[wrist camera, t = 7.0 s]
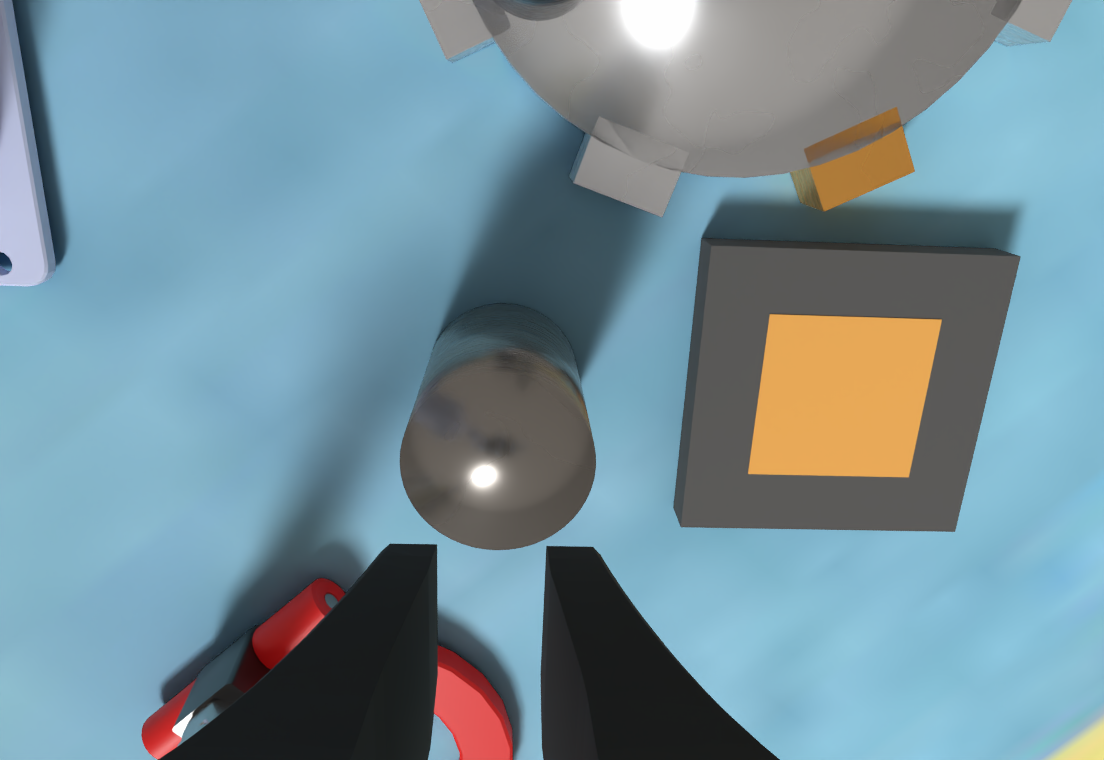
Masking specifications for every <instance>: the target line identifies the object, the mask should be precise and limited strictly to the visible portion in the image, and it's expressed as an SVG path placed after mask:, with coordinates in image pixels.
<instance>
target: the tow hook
mask: <svg viewBox="0 0 1104 760" xmlns="http://www.w3.org/2000/svg"><path fill="white" fill-rule="evenodd" d="M344 595H345V592H344V591H343V590H342V589H341V588H340V587H339V586H338V585H337V584H336V583H334V582H333V581H331V580H328V579H324V578H320V579H317V580H315V581H314V582H313V583H312V584H310V585H309V586H308V587H307V588H305V589H304V590H303V591H302V592H301V593H299V594H298V595H297V596H296V597H295V598H293V599H292V600H291V601H290V602H288V603H287V604H286V605H285V606H284V607H282V608H281V609H280V610H279V611H278V612H276V613H275V614H274V615H273V616H272V617H270V618H269V619H268V620H267V621H265V622H264V623H263V624H261V625H257V626H254V627H253V628H251V629H250V630H249V631H247V632H246V633H245V634H244V635H243V636H241V637H240V638H239V639H238V640H237V641H235V642H234V643H233V644H232V645H230V646H229V647H228V648H227V649H226V650H224V651H223V652H222V653H221V654H220V655H218V656H217V657H216V658H215V659H214V660H212V661H211V662H210V663H209V664H207V665H206V666H205V667H204V668H203V669H202V670H201V672H200V673H199V675H198V677H197V678H196V679H195V680H194V681H193V682H191V683H190V684H189V685H188V686H187V687H185V688H184V689H183V690H182V691H181V692H179V693H178V694H177V695H176V696H175V697H173V698H172V699H171V700H170V701H168V702H167V703H166V704H165V705H164V706H162V707H161V708H160V709H159V710H158V711H156V712H155V713H154V714H153V715H151V716H150V717H149V718H148V719H147V720H146V721H145V723H144V725H143V728H142V740H143V744H144V746H145V748H146V749H147V751H148V752H149V753H150V754H151V755H152V756H153V757H154V758H156V759H160V758H161V757H163V756H164V755H166V754H167V753H169V752H170V751H172V750H173V749H175V748H176V747H178V746H179V745H180V744H182V743H183V742H184V741H186V740H187V739H189V738H190V737H191V736H193V735H194V734H195V733H197V732H198V731H199V730H200V729H202V728H203V727H204V726H206V725H207V724H208V723H209V722H211V721H212V720H213V719H215V718H216V717H217V716H218V715H220V714H221V713H222V712H223V711H224V710H226V709H227V708H228V707H229V706H231V705H232V704H233V703H234V702H235V701H236V700H238V699H239V698H240V697H241V696H242V695H243V694H245V693H246V692H247V691H248V690H249V689H250V688H252V687H253V686H254V685H255V684H256V683H257V682H258V681H259V680H260V679H261V678H263V677H264V676H265V675H266V674H267V673H268V672H269V671H270V670H271V669H272V668H273V667H274V666H275V665H276V664H277V663H278V662H280V661H281V660H282V659H283V658H284V657H285V656H286V655H287V654H288V653H289V652H290V651H291V650H292V649H293V648H294V647H295V646H296V645H298V644H299V643H300V642H301V641H302V640H303V639H304V638H305V637H306V636H307V635H308V633H309V632H310V631H311V630H312V629H313V628H314V627H315V626H316V625H317V624H318V623H319V622H320V621H321V620H322V619H323V618H324V617H325V615H326V614H327V613H328V612H329V611H330V610H331V609H332V608H333V607H334V606H335V605H336V604H337V603H338V602H339V601H340V599H341V598H342V597H343V596H344ZM434 714H435V715H437V716H438V717H439V718H440V719H441V720H442V721H443V723H444V724H445V725H446V726H447V728H448V729H449V730H450V731H451V733H452V734H453V736H454V739H455V742H456V744H457V747H458V750H459V752H460V759H459V760H513V737H512V727H511V724H510V721H509V718H508V715H507V712H506V709H505V706H504V703H503V700H502V699H501V698H500V696H499V695H498V694H497V692H496V691H495V690H494V688H493V687H492V686H491V684H490V683H489V682H488V680H487V679H486V678H485V676H484V675H483V674H482V673H481V672H479V671H478V670H477V669H476V668H474V667H473V666H472V665H470V664H469V663H468V662H466V661H465V660H464V659H462V658H461V657H460V656H458V655H457V654H456V653H455V652H453V651H450V650H448V649H446V648H443V647H441V646H439V645H438V677H437V687H436V697H435V707H434Z"/></svg>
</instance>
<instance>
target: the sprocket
mask: <svg viewBox="0 0 1104 760" xmlns="http://www.w3.org/2000/svg"><path fill="white" fill-rule="evenodd" d="M419 1H420V3H421V5H422V7H423V9H424V12H425V14H426V16H427V18H428V20H429V22H430V25H431V27H432V29H433V31H434V33H435V35H436V38H437V40H438V42H439V44H440V46H441V49H442V51H443V53H444V55H445V57H446V59H447V60H448V61H450V62H452V63H453V62H455V61H457V60H459V59H461V58H463V57H466V56H468V55H470V54H472V53H474V52H476V51H478V50H480V49H482V48H484V47H486V46H488V45H490V44H492V43H494V42H495V43H496V45H497V46H498V48H499V49H500V50H501V52H502V53H503V55H504V56H505V58H506V59H507V61H508V62H509V64H510V65H511V66H512V68H513V69H514V70H515V71H516V72H517V73H518V74H519V75H520V77H521V78H522V79H523V80H524V81H525V82H526V83H527V85H528V86H529V87H530V88H531V89H532V90H533V91H534V93H535V94H536V95H537V96H539V97H540V98H541V99H542V100H543V101H544V102H546V103H547V104H548V105H549V106H550V107H551V108H552V109H554V110H555V111H556V112H557V113H558V114H559V115H560V116H562V117H563V118H564V119H565V120H567V121H568V122H570V123H571V124H573V125H574V126H576V127H577V128H579V129H580V130H582V131H584V132H585V135H584V138H583V141H582V143H581V146H580V149H579V151H578V154H577V157H576V159H575V162H574V165H573V167H572V170H571V173H570V175H569V177H570V178H571V180H572V182H573V183H575V184H577V185H580V186H582V187H585V188H588V189H590V190H593V191H595V192H598V193H600V194H603V195H606V196H608V197H611V198H613V199H616V200H618V201H621V202H624V203H626V204H629V205H631V206H634V207H637V208H639V209H642V210H644V211H647V212H649V213H652V214H655V215H657V216H660V217H663V214H664V212H665V209H666V207H667V205H668V202H669V200H670V198H671V195H672V193H673V190H674V188H675V186H676V183H677V181H678V178H679V176H680V174H681V172H686V173H691V174H697V175H703V176H713V177H743V178H746V177H756V176H766V175H775V174H784V173H788V172H790V173H791V176H792V179H793V182H794V185H795V188H796V191H797V194H798V197H799V200H800V203H802V204H805V205H807V206H810V207H813V208H816V209H818V210H821V211H827V210H829V209H831V208H833V207H836V206H838V205H840V204H842V203H845V202H847V201H849V200H851V199H854V198H856V197H858V196H860V195H863V194H865V193H867V192H869V191H872V190H874V189H876V188H879V187H881V186H883V185H885V184H888V183H890V182H892V181H894V180H897V179H899V178H901V177H903V176H906V175H908V174H910V173H912V172H915V170H914V167H913V163H912V159H911V156H910V152H909V149H908V145H907V142H906V138H905V135H904V131H903V127H902V125H904V124H905V123H907V122H908V121H910V120H911V119H913V118H914V117H915V116H917V115H918V114H920V113H921V112H923V111H924V110H926V109H927V108H928V107H929V106H930V105H932V104H933V103H934V102H935V101H936V100H937V99H938V98H940V97H941V96H942V95H943V94H944V93H945V92H946V91H948V90H949V89H950V88H951V87H952V86H953V85H954V84H956V83H957V82H958V81H959V80H960V79H961V78H962V77H963V76H964V75H965V73H966V72H967V71H968V70H969V69H970V68H971V67H972V66H973V65H974V64H975V63H976V61H977V60H978V59H979V58H980V57H981V56H982V55H983V54H984V53H985V52H986V51H987V49H988V48H989V47H990V46H991V44H992V43H993V42H994V41H996V42H998V43H1000V44H1003V45H1005V46H1014V45H1024V44H1033V43H1043V42H1050V41H1051V39H1052V37H1053V35H1054V33H1055V32H1056V30H1057V28H1058V26H1059V24H1060V22H1061V20H1062V18H1063V17H1064V15H1065V13H1066V11H1067V9H1068V7H1069V5H1070V4H1071V2H1072V0H419Z"/></svg>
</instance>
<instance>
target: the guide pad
mask: <svg viewBox="0 0 1104 760" xmlns="http://www.w3.org/2000/svg"><path fill="white" fill-rule="evenodd" d="M1019 261H1020V256H1017V255H1014V254H1011V253H1008V252H1005V251H1001V250H998V249H994V248H966V247H938V246H910V245H882V244H854V243H826V242H798V241H770V240H742V239H714V238H701V248H700V257H699V267H698V276H697V286H696V296H695V305H694V315H693V325H692V334H691V344H690V353H689V363H688V373H687V382H686V392H685V401H684V411H683V421H682V430H681V440H680V450H679V459H678V469H677V478H676V488H675V498H674V507H673V508H674V510H675V513H676V516H677V518H678V521H679V523H680V526H681V527H704V528H765V529H825V530H885V531H946V532H955V529H956V525H957V521H958V517H959V512H960V508H961V504H962V500H963V496H964V492H965V487H966V483H967V479H968V475H969V471H970V466H971V462H972V458H973V454H974V450H975V445H976V441H977V437H978V433H979V429H980V424H981V420H982V416H983V412H984V408H985V403H986V399H987V395H988V391H989V387H990V382H991V378H992V374H993V370H994V366H995V361H996V357H997V353H998V349H999V345H1000V340H1001V336H1002V332H1003V328H1004V324H1005V320H1006V315H1007V311H1008V307H1009V303H1010V299H1011V294H1012V290H1013V286H1014V282H1015V278H1016V273H1017V269H1018V265H1019Z"/></svg>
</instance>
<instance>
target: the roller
mask: <svg viewBox="0 0 1104 760" xmlns="http://www.w3.org/2000/svg"><path fill="white" fill-rule="evenodd" d="M595 469H596V454H595V447H594V442H593V437H592V433H591V428H590V423H589V419H588V414H587V410H586V405H585V401H584V396H583V392H582V387H581V382H580V378H579V373H578V369H577V364H576V360H575V356H574V353H573V350H572V348H571V345H570V343H569V341H568V340H567V338H566V336H565V335H564V333H563V332H562V331H561V330H560V329H559V327H558V326H557V325H556V324H554V323H553V322H552V321H551V320H550V319H548V318H547V317H546V316H544V315H543V314H541V313H539V312H537V311H535V310H533V309H530V308H527V307H525V306H520V305H516V304H507V303H499V304H489V305H484V306H481V307H477V308H474V309H472V310H470V311H468V312H466V313H464V314H462V315H461V316H459V317H458V318H456V319H455V320H454V321H453V322H451V323H450V324H449V325H448V326H447V328H446V329H445V330H444V331H443V332H442V334H441V335H440V337H439V338H438V340H437V342H436V344H435V346H434V348H433V351H432V354H431V357H430V360H429V363H428V366H427V369H426V372H425V375H424V377H423V380H422V383H421V386H420V389H419V392H418V395H417V398H416V401H415V404H414V407H413V410H412V413H411V416H410V419H409V422H408V425H407V428H406V431H405V434H404V437H403V440H402V445H401V451H400V470H401V477H402V481H403V485H404V488H405V490H406V493H407V495H408V497H409V499H410V501H411V503H412V504H413V506H414V508H415V509H416V510H417V512H418V513H419V514H420V515H421V517H422V518H423V519H424V520H425V521H426V522H427V523H428V524H429V525H431V526H432V527H433V528H434V529H436V530H437V531H438V532H440V533H441V534H443V535H445V536H446V537H448V538H450V539H452V540H454V541H457V542H459V543H461V544H465V545H468V546H471V547H476V548H481V549H489V550H509V549H515V548H521V547H525V546H529V545H532V544H535V543H537V542H540V541H542V540H544V539H546V538H548V537H550V536H552V535H553V534H555V533H556V532H558V531H559V530H561V529H562V528H563V527H565V526H566V525H567V524H568V523H569V522H570V521H571V520H572V519H573V518H574V517H575V515H576V514H577V513H578V512H579V511H580V509H581V508H582V506H583V504H584V503H585V501H586V499H587V497H588V495H589V493H590V490H591V488H592V484H593V481H594V476H595Z"/></svg>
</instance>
